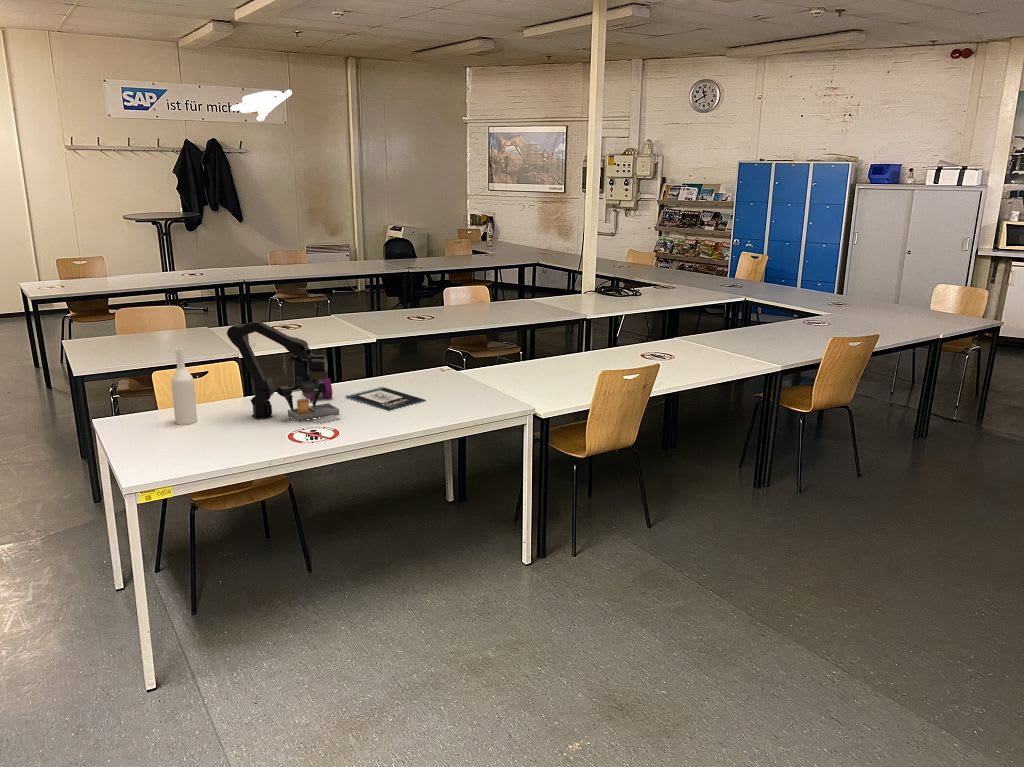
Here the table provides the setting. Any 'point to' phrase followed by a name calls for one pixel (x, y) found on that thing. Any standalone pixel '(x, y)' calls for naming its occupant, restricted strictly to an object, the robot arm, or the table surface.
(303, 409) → the orange drawer knob
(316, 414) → the housing
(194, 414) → the bottle
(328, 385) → the mounting bracket
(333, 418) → the lid
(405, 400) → the sketchbook
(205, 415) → the table surface
